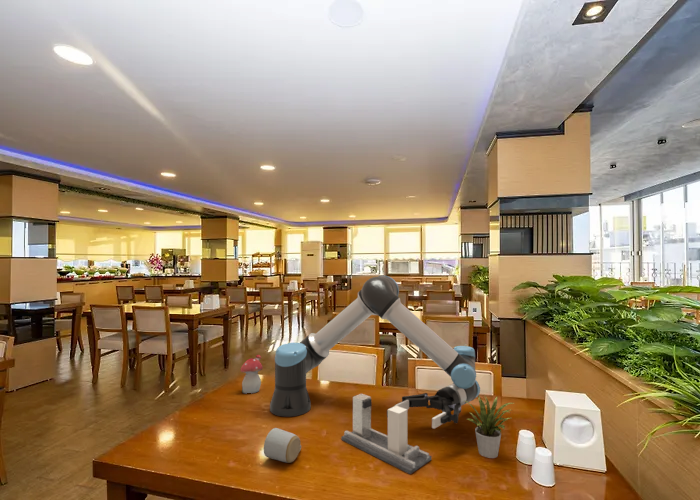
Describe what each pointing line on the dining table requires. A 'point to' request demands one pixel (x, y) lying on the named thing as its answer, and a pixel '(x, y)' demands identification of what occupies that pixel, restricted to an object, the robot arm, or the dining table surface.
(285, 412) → the robot arm
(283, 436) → the grey cylinder on side
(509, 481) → the dining table surface
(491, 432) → the house plant
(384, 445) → the rail
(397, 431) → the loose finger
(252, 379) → the decorative ornament
